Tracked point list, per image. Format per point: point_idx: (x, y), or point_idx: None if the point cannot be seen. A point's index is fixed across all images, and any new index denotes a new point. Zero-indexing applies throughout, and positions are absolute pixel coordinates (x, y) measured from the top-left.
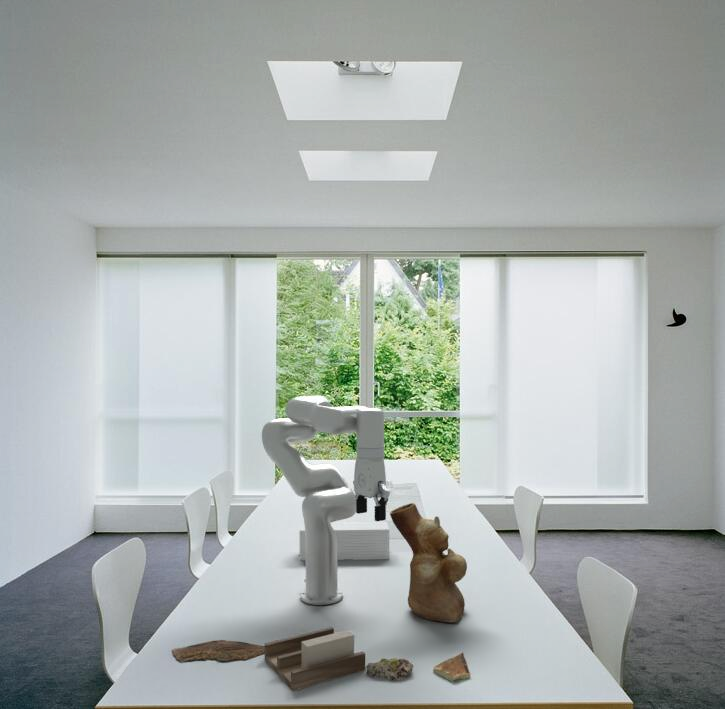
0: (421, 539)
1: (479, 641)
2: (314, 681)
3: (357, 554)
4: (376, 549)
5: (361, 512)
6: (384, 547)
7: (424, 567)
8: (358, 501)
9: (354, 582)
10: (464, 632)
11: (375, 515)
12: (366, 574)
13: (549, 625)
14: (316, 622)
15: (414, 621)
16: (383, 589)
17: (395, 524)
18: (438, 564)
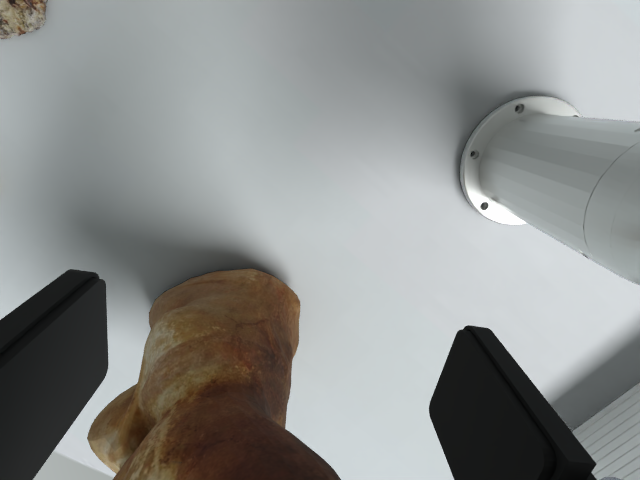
0: (150, 443)
1: (51, 277)
2: None
3: (631, 406)
4: (598, 448)
5: (447, 363)
6: None
7: (158, 347)
8: (529, 442)
9: (521, 296)
10: (109, 286)
11: (35, 299)
12: (532, 350)
13: None
14: (400, 28)
15: (227, 244)
16: (429, 318)
17: (301, 462)
18: (137, 392)
